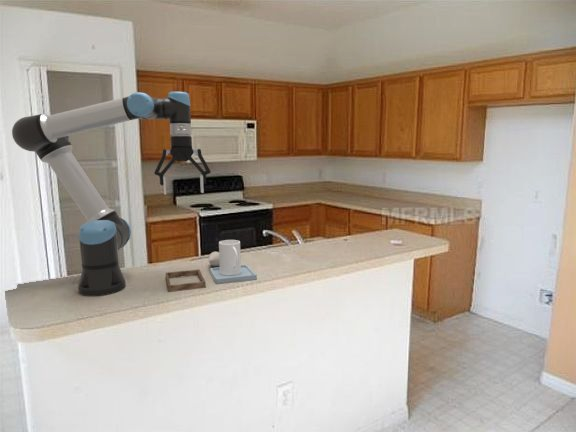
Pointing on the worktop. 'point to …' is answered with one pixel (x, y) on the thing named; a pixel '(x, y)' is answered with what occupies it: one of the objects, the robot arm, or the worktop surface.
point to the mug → (229, 257)
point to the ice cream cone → (214, 259)
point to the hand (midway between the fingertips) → (183, 193)
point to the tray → (243, 276)
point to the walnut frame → (186, 285)
